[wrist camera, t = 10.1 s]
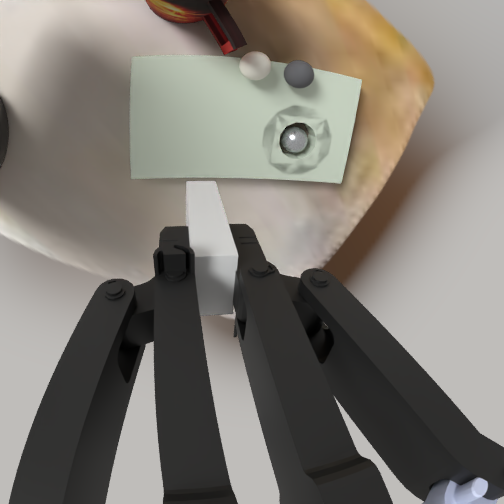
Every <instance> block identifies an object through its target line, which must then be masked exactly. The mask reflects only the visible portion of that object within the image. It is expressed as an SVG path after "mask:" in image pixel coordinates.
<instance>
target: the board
mask: <svg viewBox="0 0 504 504" xmlns="http://www.w3.org/2000/svg"><path fill="white" fill-rule="evenodd" d="M241 59H242V58H238V57H225V56H206V55H154V56H135V57H132V63H131V81H130V167H131V179H151V178H254V179H280V180H299V181H315V182H329V183H341V182H342V178H343V174H344V169H345V165H346V160H347V156H348V151H349V147H350V142H351V137H352V132H353V127H354V122H355V117H356V111H357V106H358V101H359V95H360V89H361V83H362V80H360V79H357V78H353V77H349V76H345V75H341V74H337V73H333V72H328V71H324V70H319V69H314V68H313V71H314V79H313V82H312V83H311V84H310V85H309V86H307V87H305V88H294V87H292V86H290V85H289V84H288V83H287V82H286V80H285V78H284V69H285V67H286V66H287V65H288V64H286V63H280V62H273V61H271V71H270V73H269V74H268V75H267V76H266V77H265V78H263V79H261V80H250V79H248V78H246V77H245V76H243V74H242V73H241V71H240V68H239V64H240V60H241ZM295 122H299V123H303V124H305V125H306V128H307V131H308V133H309V134H308V142H307V145H306V147H305V148H304V149H303V150H302V151H300V152H297V153H284V152H282V150H281V148H280V145H279V141H280V134H281V133H282V132H283V130H284V129H285V128H286V126H288V125H291V124H293V123H295Z"/></svg>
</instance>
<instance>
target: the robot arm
mask: <svg viewBox="0 0 504 504" xmlns="http://www.w3.org/2000/svg"><path fill="white" fill-rule="evenodd" d="M7 144H8V120H7V115H6V111H5V108H4V105H3V102H2V100H1V98H0V167H1V165H2V163H3V160H4V158H5V154H6V150H7ZM153 258H154V268H155V277H153V278H152V279H151V280H150V281H148V282H146V283H144V284H141V285H137V286H133V284H132V283H130V282H129V281H127V280H124V279H111V280H108V281H106V282H104V283H102V284H101V285H100V286H99V287H98V288H97V290H96V291H95V293H94V295H93V297H92V298H91V300H90V302H89V304H88V306H87V307H86V309H85V311H84V313H83V315H82V316H81V319H80V320H79V322H78V324H77V326H76V328H75V330H74V332H73V334H72V336H71V338H70V340H69V342H68V344H67V346H66V348H65V350H64V352H63V354H62V356H61V359H60V360H59V362H58V365H57V367H56V369H55V371H54V373H53V375H52V378H51V380H50V382H49V385H48V387H47V389H46V391H45V394H44V396H43V399H42V401H41V404H40V406H39V408H38V411H37V414H36V416H35V419H34V421H33V424H32V427H31V430H30V432H29V435H28V438H27V441H26V444H25V447H24V450H23V453H22V456H21V460H20V463H19V466H18V469H17V473H16V477H15V480H14V484H13V488H12V492H11V496H10V500H9V504H105V502H106V496H107V492H108V487H109V481H110V477H111V472H112V467H113V464H114V459H115V455H116V450H117V446H118V442H119V438H120V434H121V430H122V426H123V422H124V419H125V415H126V411H127V407H128V404H129V400H130V397H131V393H132V389H133V386H134V383H135V379H136V376H137V372H138V369H139V366H140V362H141V359H142V356H143V353H144V350H145V344H147V343H150V342H153V341H154V378H155V401H156V418H157V430H158V431H157V432H158V443H159V453H160V462H161V471H162V479H163V487H164V497H163V504H238V503H237V500H236V497H235V494H234V492H233V490H232V487H231V483H230V479H229V475H228V471H227V466H226V462H225V457H224V452H223V448H222V443H221V438H220V433H219V428H218V423H217V417H216V412H215V407H214V402H213V396H212V390H211V384H210V378H209V372H208V366H207V360H206V353H205V347H204V340H203V333H202V326H201V319H200V316H207V315H222V314H233V306H234V308H235V312H236V317H235V327H234V337H236V336H237V334H238V338H239V342H240V347H241V350H242V354H243V359H244V363H245V367H246V371H247V375H248V378H249V382H250V386H251V390H252V394H253V398H254V401H255V405H256V409H257V413H258V417H259V420H260V424H261V428H262V431H263V435H264V439H265V442H266V446H267V449H268V453H269V456H270V460H271V463H272V467H273V470H274V474H275V477H276V481H277V484H278V488H279V493H280V504H393V503H392V500H391V498H390V495H389V493H388V490H387V488H386V486H385V483H384V481H383V479H382V476H381V474H380V472H379V470H378V468H377V467H376V465H375V464H374V463H373V462H372V461H371V460H370V459H367V458H364V457H362V456H361V455H360V454H359V453H358V452H357V450H356V447H355V445H354V443H353V440H352V438H351V436H350V433H349V431H348V428H347V426H346V424H345V421H344V419H343V417H342V414H341V412H340V410H339V407H338V405H337V403H336V400H335V398H336V399H337V400H338V402H339V403H340V404H341V406H342V407H343V408H344V410H345V411H346V412H347V414H348V415H349V416H350V418H351V419H352V420H353V422H354V423H355V424H356V426H357V427H358V428H359V430H360V431H361V432H362V433H363V435H364V436H365V437H366V438H367V440H368V441H369V442H370V444H371V445H372V446H373V448H374V449H375V450H376V452H377V453H378V454H379V456H380V457H381V458H382V459H383V460H384V462H385V463H386V465H387V466H388V467H389V468H390V470H391V471H392V472H393V474H394V475H395V476H396V477H397V479H398V480H399V481H400V482H401V483H402V484H403V485H404V487H405V488H406V489H408V490H409V491H410V492H411V493H412V494H414V495H415V496H416V497H418V498H419V499H421V500H422V501H424V502H423V503H422V504H496V503H497V500H498V498H500V497H502V496H504V447H502V446H500V445H499V444H497V443H495V442H494V441H492V440H490V439H488V438H487V437H485V436H484V435H482V434H480V433H479V432H478V430H476V428H475V427H474V426H473V425H472V423H471V422H470V421H469V420H468V419H467V418H466V416H465V415H464V414H463V413H462V412H461V411H460V410H459V408H458V407H457V406H456V405H455V404H454V403H453V401H451V399H450V398H449V397H448V396H447V395H446V394H445V393H444V391H443V390H442V389H441V388H440V387H439V386H438V385H437V383H436V382H435V381H434V380H433V379H432V378H431V377H430V376H429V375H428V374H427V372H426V371H425V370H424V369H423V368H422V367H421V366H420V365H419V364H418V363H417V362H416V361H415V359H414V358H413V357H412V356H411V355H410V354H409V353H408V352H407V351H406V350H405V349H404V348H403V347H402V345H401V344H399V342H398V341H397V340H396V339H395V338H394V337H393V336H392V335H391V334H390V333H389V332H388V331H387V330H386V329H385V328H384V327H383V326H382V325H381V323H380V322H379V321H378V320H377V319H376V318H375V317H374V316H373V315H372V314H371V313H370V312H369V311H368V310H367V309H366V308H365V307H364V306H363V305H362V304H361V303H360V302H359V301H358V300H357V299H356V298H355V297H354V296H353V295H352V294H351V293H350V292H349V291H348V290H347V289H346V288H345V287H344V286H343V285H342V284H341V283H340V282H339V281H338V280H337V279H336V278H335V277H334V276H333V275H332V274H330V273H329V272H327V271H325V270H322V269H316V268H313V269H308V270H305V271H304V272H303V273H302V274H301V278H297V277H291V276H286V275H282V274H280V273H279V271H278V269H277V268H276V267H275V266H274V265H273V264H271V263H270V262H267V261H266V258H265V256H264V254H263V251H262V249H261V247H260V244H259V242H258V240H257V238H256V235H255V233H254V230H253V229H252V228H250V227H249V226H248V225H247V224H229V223H228V220H227V217H226V214H225V210H224V207H223V204H222V201H221V197H220V194H219V191H218V187H217V184H216V181H186V226H175V227H165V228H164V229H163V230H162V231H161V233H160V240H159V248H157V249H156V250H155V252H154V254H153ZM324 323H325V324H326V325H327V326H328V327H327V326H326V325H325V324H324ZM333 395H334V396H335V398H334V396H333Z"/></svg>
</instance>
